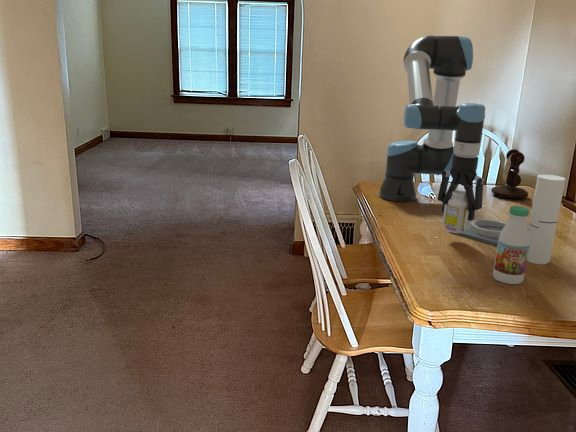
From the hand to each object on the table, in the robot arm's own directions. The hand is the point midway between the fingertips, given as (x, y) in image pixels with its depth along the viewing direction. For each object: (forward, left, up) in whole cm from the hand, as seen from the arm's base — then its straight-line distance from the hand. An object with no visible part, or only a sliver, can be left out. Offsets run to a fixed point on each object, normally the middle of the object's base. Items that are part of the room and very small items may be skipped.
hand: (455, 226), depth 168 cm
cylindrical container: (+24, +5, -5) cm, 25 cm away
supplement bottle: (0, 0, -2) cm, 2 cm away
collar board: (+4, +17, -5) cm, 18 cm away
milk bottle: (+25, -16, -5) cm, 31 cm away
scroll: (-15, +72, -5) cm, 73 cm away
